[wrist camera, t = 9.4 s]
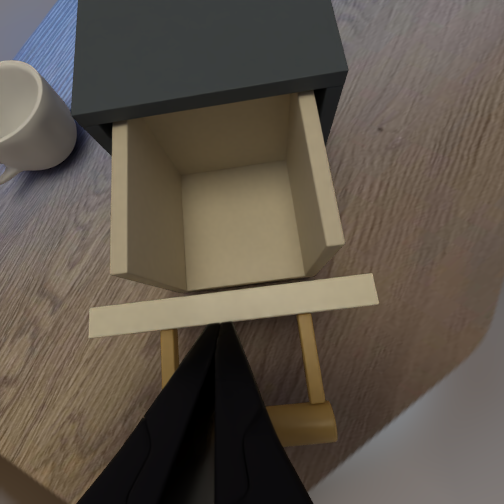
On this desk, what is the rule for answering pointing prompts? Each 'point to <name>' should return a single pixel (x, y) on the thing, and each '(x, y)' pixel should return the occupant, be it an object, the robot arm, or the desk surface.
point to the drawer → (230, 232)
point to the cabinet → (201, 57)
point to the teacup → (31, 122)
